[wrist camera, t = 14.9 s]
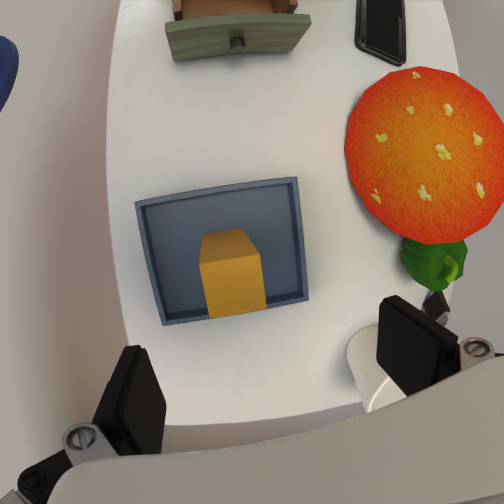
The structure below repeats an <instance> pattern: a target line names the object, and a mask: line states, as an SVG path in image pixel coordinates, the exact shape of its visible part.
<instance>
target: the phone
mask: <svg viewBox="0 0 504 504" xmlns="http://www.w3.org/2000/svg"><path fill="white" fill-rule="evenodd" d="M355 44H356V46H357V47H358V48H359V49H360V50H362V51H365V52H367V53H369V54H372V55H374V56H376V57H378V58H381V59H383V60H385V61H387V62H389V63H391V64H393V65H396V66H400V65H402V64H404V63H405V62H406V22H405V5H404V0H357V13H356V30H355Z"/></svg>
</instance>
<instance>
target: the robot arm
mask: <svg viewBox="0 0 504 504" xmlns="http://www.w3.org/2000/svg"><path fill="white" fill-rule="evenodd" d="M457 340H458V336H456V335H455V334H454V333H452V332H451V331H449V330H448V329H447V328H445V327H444V326H442V325H441V324H439V323H438V322H436V321H435V320H433V319H432V318H431V317H429V316H428V315H426V314H425V313H423V312H422V311H420V310H419V309H417V308H416V307H414V306H413V305H411V304H410V303H408V302H407V301H405V300H404V299H402V298H401V297H399V296H397V295H394V296H390V297H387V298H384V299H383V301H382V303H380V305H379V322H378V338H377V350H376V360H377V363H378V364H379V366H380V367H381V368H382V369H383V370H384V371H385V372H386V373H387V375H388V376H389V377H390V378H391V379H392V380H393V381H394V382H395V384H396V385H397V386H398V387H399V388H400V389H401V390H402V392H403V393H404V394H405V395H406V396H407V397H406V398H404V399H401V400H399V401H396V402H394V403H392V404H389V405H387V406H384V407H382V408H379V409H376V410H374V411H371V412H368V413H365V414H363V415H360V416H357V417H354V418H351V419H348V420H345V421H342V422H339V423H336V424H332V425H329V426H326V427H322V428H319V429H315V430H312V431H308V432H304V433H300V434H296V435H292V436H288V437H283V438H278V439H274V440H269V441H264V442H259V443H254V444H248V445H242V446H236V447H229V448H222V449H213V450H204V451H195V452H182V453H166V454H161V448H162V440H163V431H164V423H165V416H166V401H165V398H164V396H163V393H162V391H161V388H160V386H159V383H158V381H157V378H156V375H155V373H154V370H153V367H152V365H151V362H150V359H149V356H148V353H147V351H146V349H145V348H141V346H140V345H134V346H126V347H124V350H123V352H122V354H121V356H120V358H119V361H118V363H117V365H116V367H115V370H114V372H113V374H112V377H111V379H110V381H109V382H108V383H107V386H106V388H105V391H104V393H103V395H102V398H101V400H100V403H99V406H98V408H97V410H96V413H95V415H94V418H93V420H92V423H79V424H76V425H74V426H72V427H70V428H69V429H68V430H67V431H66V432H65V434H64V435H63V439H62V444H63V447H64V449H63V450H61V451H60V452H58V453H56V454H54V455H52V456H50V457H49V458H47V459H45V460H43V461H41V462H39V463H37V464H35V465H33V466H31V467H29V468H27V469H26V470H24V471H23V472H22V473H21V474H20V476H19V478H18V483H17V485H18V490H17V491H16V492H15V491H14V490H13V489H12V490H11V491H10V492H9V493H8V494H7V495H5V496H4V497H3V498H2V499H1V500H0V504H504V354H500V353H494V349H493V346H492V344H491V343H490V342H488V341H487V340H485V339H482V338H477V337H473V338H467V339H465V340H463V341H462V342H461V344H460V345H459V344H458V343H457Z"/></svg>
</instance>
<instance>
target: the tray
mask: <svg viewBox="0 0 504 504" xmlns="http://www.w3.org/2000/svg"><path fill="white" fill-rule="evenodd" d="M135 209H136V214H137V220H138V225H139V230H140V235H141V240H142V245H143V250H144V254H145V259H146V263H147V268H148V272H149V276H150V280H151V284H152V288H153V292H154V296H155V300H156V304H157V308H158V311H159V315H160V319H161V322H162V326H166V325H173V324H180V323H187V322H193V321H200V320H206V319H210V316H209V312H208V307H207V302H206V297H205V292H204V287H203V282H202V277H201V272H200V267H199V261H200V252H201V243H202V235H203V234H209V233H215V232H221V231H227V230H233V229H239V228H242V229H243V231H244V232H245V234H246V235H247V237H248V238H249V239H250V241H251V242H252V244H253V245H254V247H255V248H256V249H257V251H258V252H259V254H260V259H261V266H262V274H263V282H264V289H265V297H266V305H267V309H269V308H274V307H279V306H284V305H289V304H294V303H299V302H304V301H308V300H309V296H308V283H307V270H306V258H305V247H304V236H303V226H302V217H301V207H300V198H299V190H298V181H297V177H284V178H276V179H268V180H260V181H252V182H245V183H238V184H231V185H224V186H218V187H212V188H205V189H199V190H194V191H188V192H182V193H177V194H171V195H166V196H160V197H155V198H150V199H145V200H140V201H137V202H135Z"/></svg>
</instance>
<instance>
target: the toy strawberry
mask: <svg viewBox="0 0 504 504" xmlns="http://www.w3.org/2000/svg"><path fill="white" fill-rule="evenodd" d="M345 153H346V158H347V163H348V168H349V173H350V178H351V182H352V184H353V186H354V187H355V189H356V191H357V192H358V194H359V196H360V197H361V199H362V201H363V202H364V204H365V206H366V208H367V209H368V211H369V212H370V213H371V214H372V215H374V216H375V217H376V218H377V219H378V220H380V221H381V222H382V223H383V224H384V225H386V226H387V227H388V228H389V229H390V230H391V231H393V232H394V233H395V234H398V235H401V236H404V237H407V238H410V239H413V240H416V241H418V242H421V243H424V244H437V243H450V242H460V241H461V240H463V239H465V238H467V237H468V236H470V235H472V234H474V233H475V232H477V231H479V230H480V229H482V228H483V227H485V226H487V225H488V224H489V222H490V221H491V220H492V218H493V217H494V215H495V214H496V212H497V211H498V209H499V208H500V206H501V205H502V203H503V202H504V124H503V122H502V121H501V119H500V117H499V116H498V115H497V113H496V112H495V110H494V108H493V107H492V106H491V104H490V103H489V101H488V100H487V98H486V97H485V96H484V94H483V93H481V92H480V91H479V90H477V89H476V88H474V87H473V86H472V85H470V84H469V83H467V82H466V81H464V80H463V79H461V78H460V77H458V76H457V75H455V74H454V73H450V72H446V71H441V70H437V69H432V68H427V67H422V66H419V67H414V68H409V69H404V70H399V71H395V72H390V73H388V74H387V75H386V76H384V77H383V78H382V79H380V80H379V81H377V82H376V83H375V84H373V85H372V86H371V87H369V88H368V89H366V90H365V91H364V93H363V95H362V97H361V98H360V100H359V102H358V103H357V105H356V107H355V109H354V110H353V112H352V114H351V115H350V117H349V123H348V130H347V137H346V143H345Z"/></svg>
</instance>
